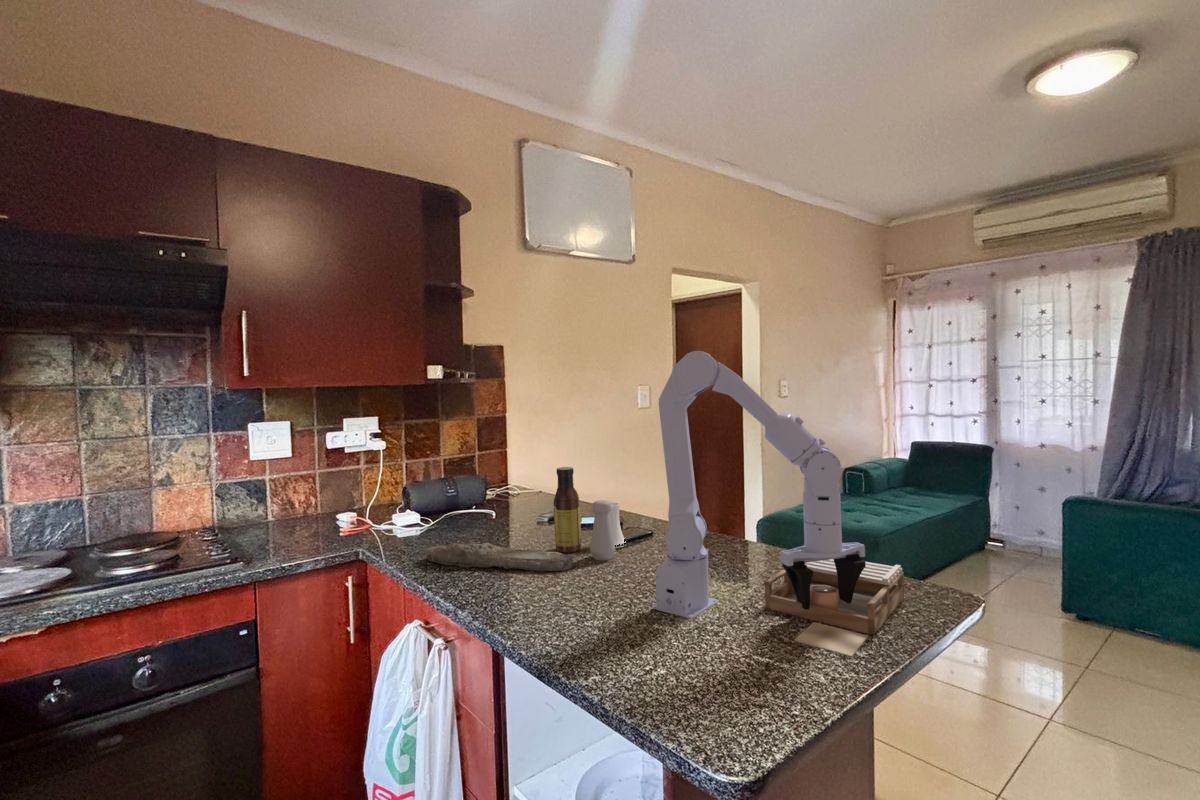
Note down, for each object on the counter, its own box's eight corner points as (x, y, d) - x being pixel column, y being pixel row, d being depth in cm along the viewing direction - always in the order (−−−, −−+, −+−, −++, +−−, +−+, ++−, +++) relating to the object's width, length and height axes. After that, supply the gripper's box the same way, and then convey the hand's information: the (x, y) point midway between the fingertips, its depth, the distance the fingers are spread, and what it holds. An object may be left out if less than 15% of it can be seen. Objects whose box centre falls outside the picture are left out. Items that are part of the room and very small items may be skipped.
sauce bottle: (566, 545, 136) (564, 465, 136) (586, 548, 133) (584, 466, 133) (549, 551, 131) (547, 468, 131) (569, 555, 127) (567, 470, 127)
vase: (589, 545, 136) (588, 505, 136) (609, 538, 141) (608, 500, 141) (612, 550, 131) (611, 508, 131) (632, 543, 137) (631, 503, 136)
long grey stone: (564, 583, 113) (578, 571, 123) (565, 558, 113) (579, 547, 123) (414, 564, 122) (438, 554, 132) (416, 540, 122) (440, 532, 132)
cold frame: (873, 637, 82) (873, 604, 82) (765, 610, 93) (764, 581, 93) (904, 599, 96) (903, 572, 96) (806, 580, 107) (806, 555, 107)
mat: (851, 659, 75) (851, 655, 75) (794, 643, 81) (794, 639, 81) (868, 639, 81) (868, 635, 81) (813, 625, 87) (813, 621, 87)
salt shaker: (601, 563, 121) (600, 504, 121) (584, 558, 125) (583, 501, 125) (620, 558, 125) (619, 500, 124) (603, 553, 129) (602, 497, 129)
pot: (833, 621, 87) (832, 595, 87) (805, 614, 90) (804, 589, 90) (842, 612, 90) (841, 588, 90) (815, 606, 93) (814, 582, 93)
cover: (889, 585, 89) (888, 579, 89) (789, 566, 100) (789, 560, 100) (902, 571, 96) (902, 565, 96) (807, 554, 107) (807, 549, 107)
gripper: (843, 512, 96) (846, 590, 96) (769, 520, 92) (772, 601, 92) (873, 521, 89) (876, 604, 89) (794, 529, 85) (797, 616, 85)
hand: (825, 604), depth 90 cm, fingers open, 7 cm apart
